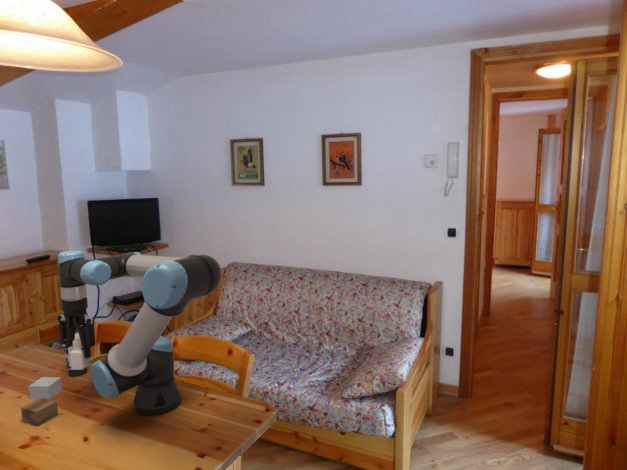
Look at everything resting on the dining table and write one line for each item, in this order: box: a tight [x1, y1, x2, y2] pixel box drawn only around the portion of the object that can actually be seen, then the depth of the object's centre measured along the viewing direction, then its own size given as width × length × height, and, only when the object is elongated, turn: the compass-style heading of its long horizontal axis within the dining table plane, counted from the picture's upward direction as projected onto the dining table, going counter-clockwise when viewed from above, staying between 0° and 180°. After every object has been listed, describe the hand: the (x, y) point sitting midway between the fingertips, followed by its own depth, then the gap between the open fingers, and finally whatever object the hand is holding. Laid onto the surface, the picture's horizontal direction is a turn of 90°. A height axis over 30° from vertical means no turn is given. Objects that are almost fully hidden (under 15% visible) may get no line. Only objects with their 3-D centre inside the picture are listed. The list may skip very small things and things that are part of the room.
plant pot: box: [88, 353, 108, 373], centre depth 168 cm, size 10×10×10 cm
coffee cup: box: [62, 332, 88, 378], centre depth 177 cm, size 10×10×15 cm
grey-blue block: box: [28, 376, 63, 400], centre depth 160 cm, size 7×7×5 cm
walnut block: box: [20, 398, 59, 427], centre depth 145 cm, size 7×7×5 cm
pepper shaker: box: [70, 339, 83, 370], centre depth 151 cm, size 4×4×10 cm
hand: (79, 365), depth 151 cm, fingers closed on pepper shaker, 5 cm apart
